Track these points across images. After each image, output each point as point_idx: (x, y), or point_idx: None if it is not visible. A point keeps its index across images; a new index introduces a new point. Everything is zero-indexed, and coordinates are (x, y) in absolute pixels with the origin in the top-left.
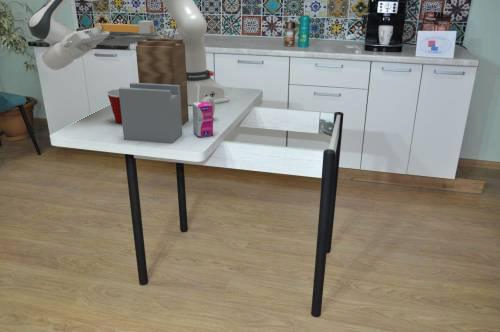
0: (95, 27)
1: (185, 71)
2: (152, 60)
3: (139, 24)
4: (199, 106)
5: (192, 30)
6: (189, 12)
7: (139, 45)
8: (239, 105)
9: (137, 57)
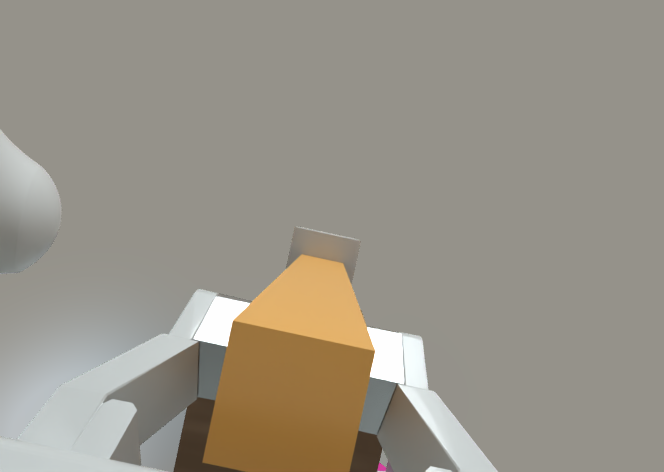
0: (436, 399)
1: None
2: None
3: (356, 257)
4: (385, 467)
5: (52, 236)
6: (13, 147)
7: None
8: None
9: (380, 447)
